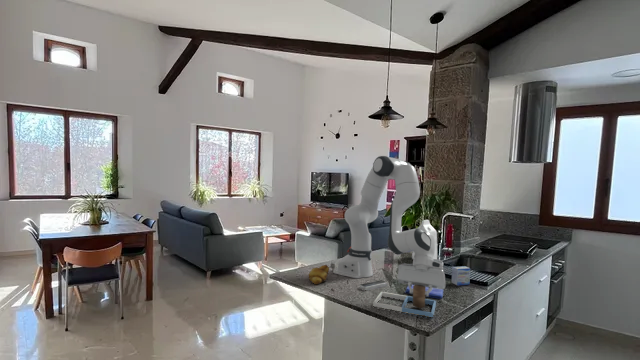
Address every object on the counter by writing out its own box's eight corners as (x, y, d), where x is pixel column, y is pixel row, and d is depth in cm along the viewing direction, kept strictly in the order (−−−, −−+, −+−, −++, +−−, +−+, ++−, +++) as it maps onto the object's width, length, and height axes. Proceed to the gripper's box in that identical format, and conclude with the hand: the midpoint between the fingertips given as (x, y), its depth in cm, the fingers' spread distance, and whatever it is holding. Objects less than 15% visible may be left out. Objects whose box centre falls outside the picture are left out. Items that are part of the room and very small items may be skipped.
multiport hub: (359, 289, 167) (359, 284, 167) (381, 284, 175) (381, 279, 175) (364, 291, 164) (365, 287, 163) (387, 286, 171) (387, 282, 171)
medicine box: (456, 285, 174) (457, 269, 173) (451, 282, 178) (451, 266, 178) (469, 284, 176) (470, 268, 176) (464, 281, 180) (464, 265, 180)
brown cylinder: (411, 306, 142) (412, 287, 142) (413, 302, 147) (414, 284, 147) (424, 308, 140) (424, 289, 140) (425, 304, 145) (426, 285, 145)
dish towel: (404, 295, 161) (404, 289, 161) (410, 280, 183) (410, 274, 183) (442, 300, 155) (442, 294, 154) (444, 284, 177) (444, 279, 176)
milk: (422, 255, 233) (423, 218, 232) (437, 259, 224) (438, 220, 223) (411, 258, 225) (412, 219, 224) (427, 262, 217) (428, 222, 216)
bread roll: (321, 286, 168) (322, 270, 168) (303, 284, 172) (304, 268, 172) (330, 279, 180) (330, 264, 180) (313, 276, 184) (313, 262, 184)
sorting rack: (372, 307, 144) (373, 302, 144) (380, 295, 158) (381, 291, 158) (432, 318, 135) (432, 313, 135) (435, 305, 148) (436, 300, 148)
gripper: (398, 259, 154) (393, 287, 145) (446, 265, 145) (444, 295, 137) (400, 266, 158) (395, 293, 149) (446, 272, 150) (444, 302, 141)
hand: (419, 294), depth 143 cm, fingers closed on brown cylinder, 5 cm apart
